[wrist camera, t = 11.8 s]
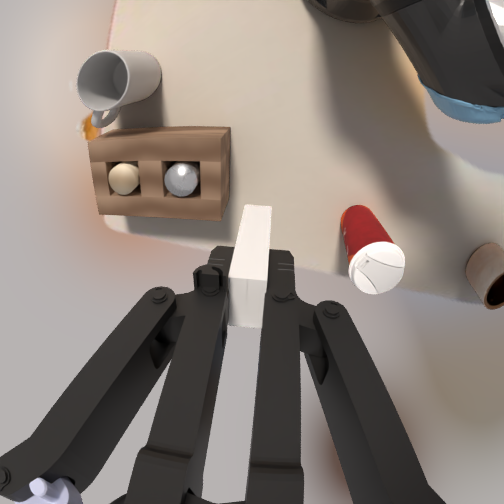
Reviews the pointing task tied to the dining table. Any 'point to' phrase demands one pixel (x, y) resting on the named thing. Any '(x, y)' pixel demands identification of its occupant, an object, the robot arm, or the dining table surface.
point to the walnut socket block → (163, 171)
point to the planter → (487, 275)
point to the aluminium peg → (183, 177)
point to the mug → (116, 81)
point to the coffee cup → (370, 252)
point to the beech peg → (124, 177)
